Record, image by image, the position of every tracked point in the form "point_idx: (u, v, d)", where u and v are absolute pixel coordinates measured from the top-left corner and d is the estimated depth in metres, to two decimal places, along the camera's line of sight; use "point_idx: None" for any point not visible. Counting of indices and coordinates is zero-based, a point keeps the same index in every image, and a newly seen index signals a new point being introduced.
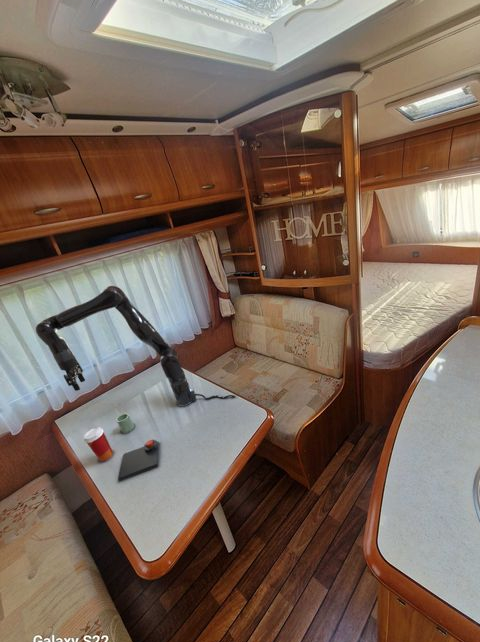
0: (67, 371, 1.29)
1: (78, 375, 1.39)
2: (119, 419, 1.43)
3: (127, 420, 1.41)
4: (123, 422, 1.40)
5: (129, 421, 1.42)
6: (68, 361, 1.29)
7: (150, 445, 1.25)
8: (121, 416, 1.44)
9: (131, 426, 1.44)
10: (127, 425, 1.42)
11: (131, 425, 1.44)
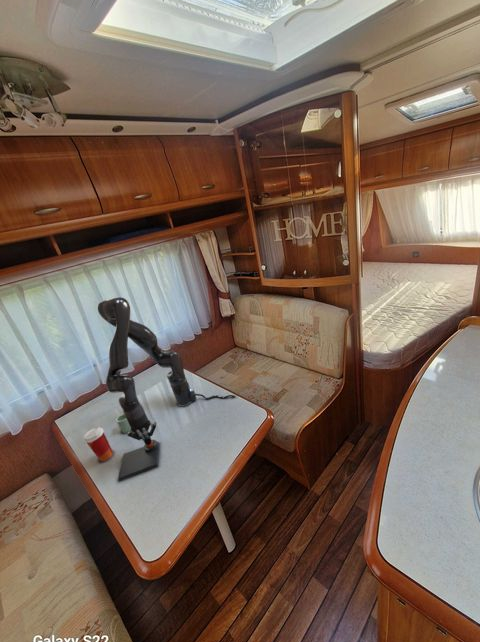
0: None
1: None
2: (119, 419, 1.43)
3: None
4: (123, 422, 1.40)
5: None
6: (128, 421, 1.17)
7: (150, 446, 1.25)
8: (121, 416, 1.44)
9: None
10: (127, 425, 1.42)
11: None
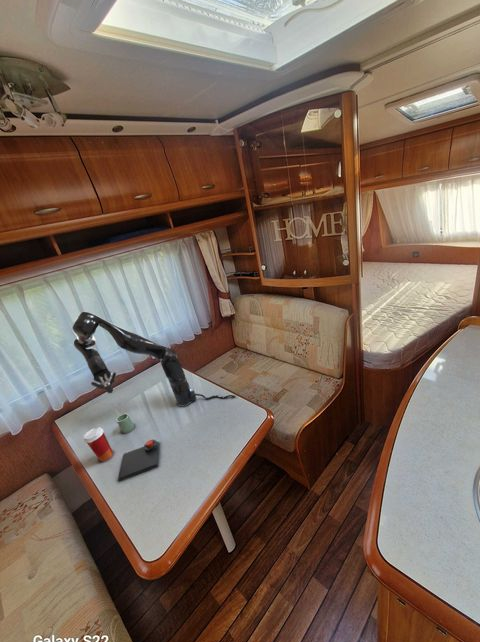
0: (108, 371, 1.49)
1: None
2: (119, 419, 1.43)
3: (127, 420, 1.41)
4: (123, 422, 1.40)
5: (129, 421, 1.42)
6: None
7: (150, 445, 1.25)
8: (121, 416, 1.44)
9: (131, 426, 1.44)
10: (127, 425, 1.42)
11: (131, 425, 1.44)
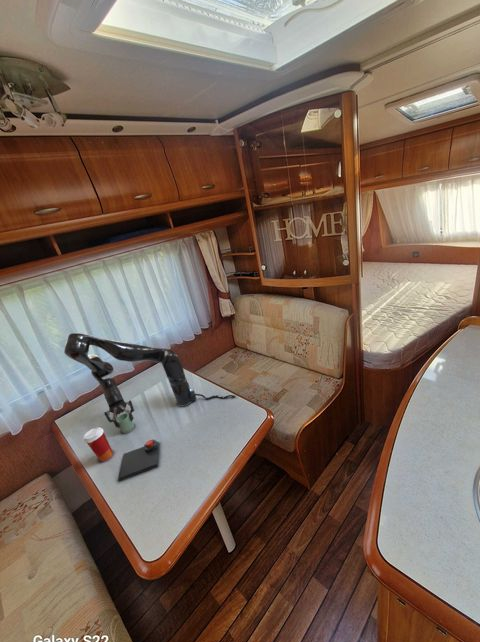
0: None
1: (115, 420, 1.41)
2: (119, 419, 1.43)
3: (127, 420, 1.41)
4: (123, 422, 1.40)
5: (129, 421, 1.42)
6: None
7: (150, 445, 1.25)
8: (121, 416, 1.44)
9: (131, 426, 1.44)
10: (127, 425, 1.42)
11: (131, 425, 1.44)
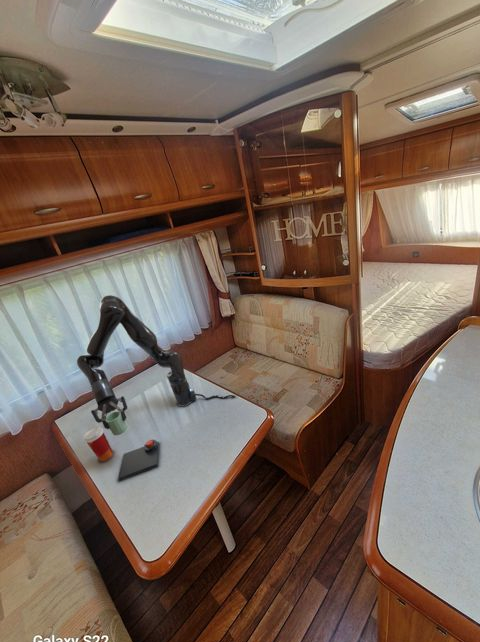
0: (115, 397, 1.23)
1: None
2: (109, 419, 1.20)
3: (119, 420, 1.18)
4: (114, 422, 1.16)
5: (121, 421, 1.19)
6: None
7: (150, 445, 1.25)
8: (112, 415, 1.20)
9: (124, 427, 1.20)
10: (119, 426, 1.18)
11: (124, 426, 1.20)
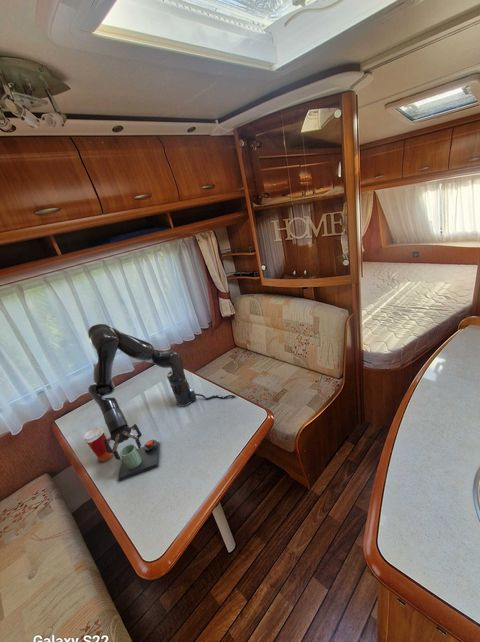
0: (128, 426, 1.21)
1: None
2: (124, 452, 1.18)
3: (133, 453, 1.16)
4: (129, 456, 1.15)
5: (136, 454, 1.17)
6: None
7: (150, 445, 1.25)
8: (126, 448, 1.19)
9: (138, 460, 1.18)
10: (133, 459, 1.16)
11: (138, 459, 1.19)
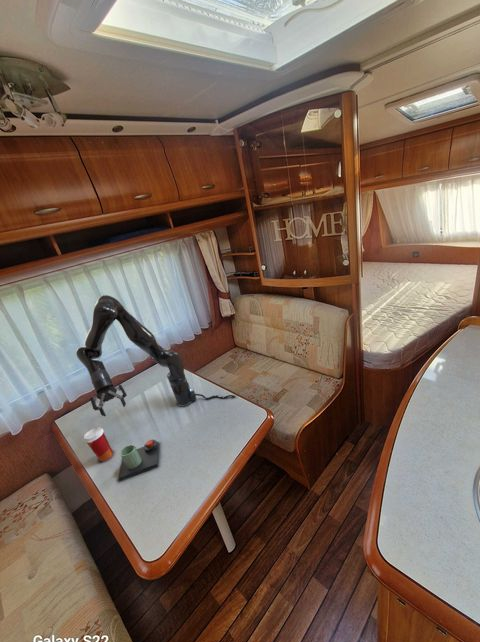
0: (114, 387, 1.29)
1: (101, 407, 1.23)
2: (124, 452, 1.18)
3: (133, 453, 1.16)
4: (129, 456, 1.15)
5: (136, 454, 1.17)
6: None
7: (150, 445, 1.25)
8: (126, 448, 1.19)
9: (138, 460, 1.18)
10: (133, 459, 1.16)
11: (138, 459, 1.19)
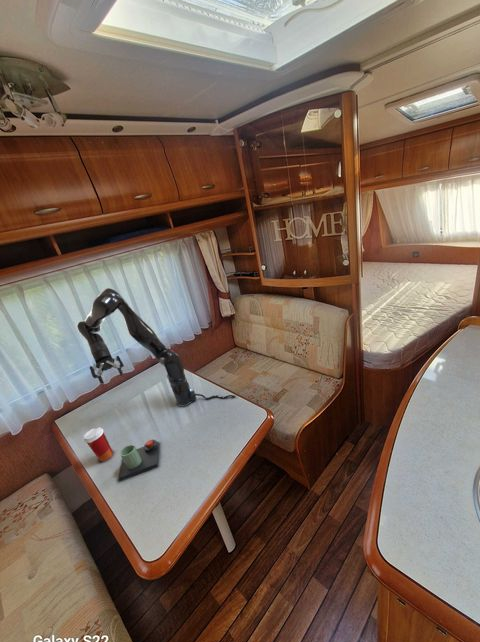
0: (112, 358, 1.38)
1: (100, 375, 1.33)
2: (124, 452, 1.18)
3: (133, 453, 1.16)
4: (129, 456, 1.15)
5: (136, 454, 1.17)
6: None
7: (150, 445, 1.25)
8: (126, 448, 1.19)
9: (138, 460, 1.18)
10: (133, 459, 1.16)
11: (138, 459, 1.19)
